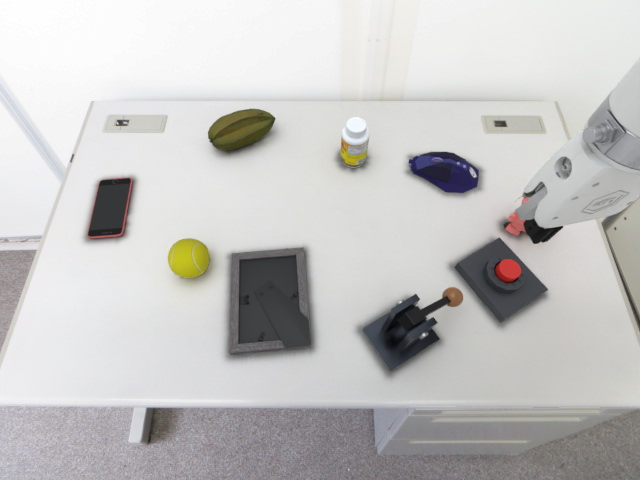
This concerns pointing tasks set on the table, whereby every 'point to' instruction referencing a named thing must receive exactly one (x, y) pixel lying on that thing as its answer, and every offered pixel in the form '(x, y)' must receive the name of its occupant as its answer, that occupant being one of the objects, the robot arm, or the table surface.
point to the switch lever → (430, 309)
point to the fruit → (240, 129)
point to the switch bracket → (400, 335)
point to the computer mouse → (446, 171)
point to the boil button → (508, 270)
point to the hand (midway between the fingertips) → (534, 233)
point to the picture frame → (268, 301)
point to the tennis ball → (188, 258)
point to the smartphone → (110, 208)
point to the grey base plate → (493, 290)
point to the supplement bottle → (354, 142)
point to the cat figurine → (515, 222)
